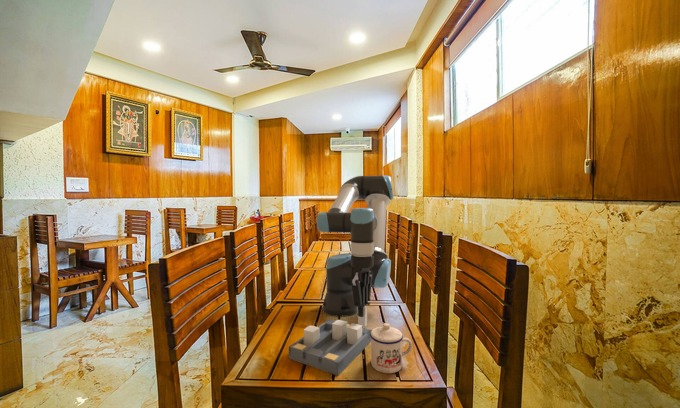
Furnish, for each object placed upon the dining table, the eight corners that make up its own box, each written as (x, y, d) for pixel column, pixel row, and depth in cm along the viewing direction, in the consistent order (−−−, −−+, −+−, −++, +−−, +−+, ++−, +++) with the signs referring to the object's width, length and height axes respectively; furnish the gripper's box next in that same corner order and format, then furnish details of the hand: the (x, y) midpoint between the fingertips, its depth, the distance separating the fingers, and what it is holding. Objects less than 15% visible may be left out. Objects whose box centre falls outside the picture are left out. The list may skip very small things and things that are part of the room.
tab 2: (338, 334, 98) (337, 319, 98) (347, 336, 96) (347, 321, 96) (332, 338, 95) (332, 323, 95) (341, 341, 93) (341, 326, 93)
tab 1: (310, 340, 94) (310, 325, 94) (319, 343, 92) (319, 327, 92) (303, 345, 91) (303, 329, 90) (313, 348, 89) (313, 332, 89)
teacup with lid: (374, 375, 78) (374, 332, 77) (367, 357, 87) (367, 318, 86) (417, 372, 79) (417, 330, 79) (406, 354, 88) (406, 316, 88)
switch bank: (328, 329, 105) (328, 318, 105) (371, 340, 97) (371, 329, 97) (288, 358, 86) (288, 346, 86) (338, 375, 78) (338, 362, 78)
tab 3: (352, 338, 95) (352, 323, 95) (362, 340, 93) (362, 325, 93) (347, 343, 92) (347, 327, 92) (357, 345, 90) (357, 329, 90)
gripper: (360, 250, 104) (360, 315, 105) (342, 256, 93) (343, 330, 94) (380, 252, 101) (380, 320, 101) (364, 259, 89) (364, 335, 90)
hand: (362, 324), depth 97 cm, fingers closed
